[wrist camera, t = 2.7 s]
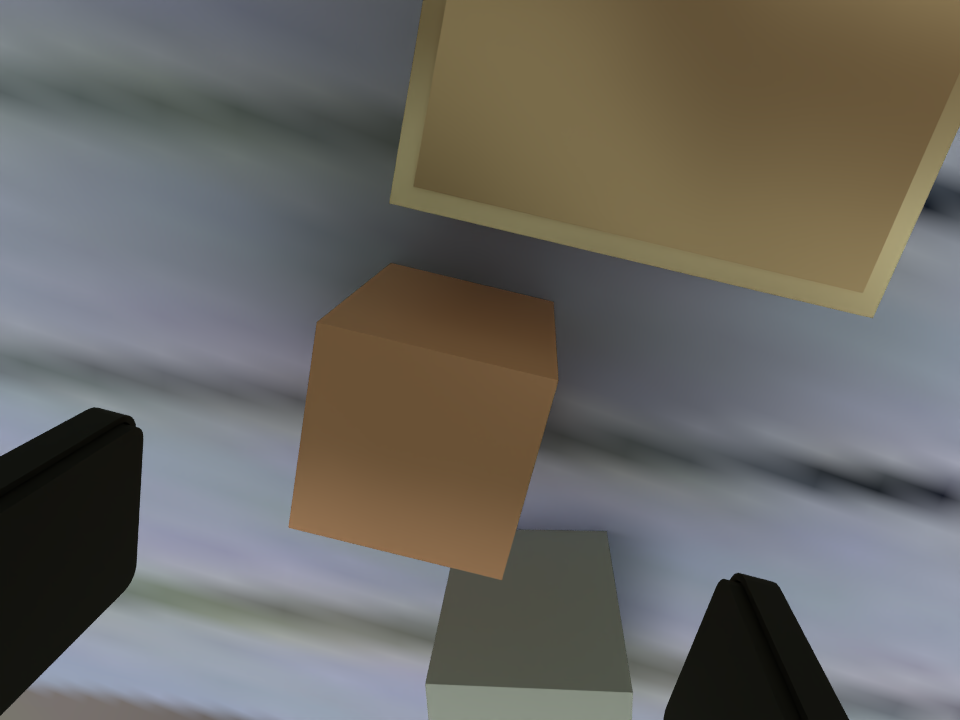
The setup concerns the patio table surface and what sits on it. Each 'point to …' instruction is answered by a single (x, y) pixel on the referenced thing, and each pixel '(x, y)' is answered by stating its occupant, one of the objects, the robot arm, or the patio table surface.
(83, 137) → the patio table surface
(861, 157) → the tan square tray
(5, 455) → the robot arm
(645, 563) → the patio table surface
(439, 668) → the slate block
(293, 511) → the terracotta block
